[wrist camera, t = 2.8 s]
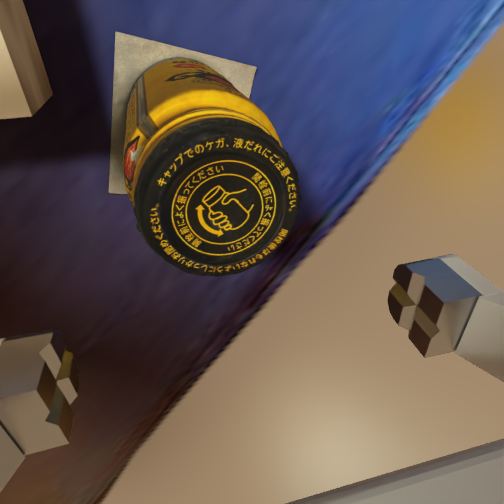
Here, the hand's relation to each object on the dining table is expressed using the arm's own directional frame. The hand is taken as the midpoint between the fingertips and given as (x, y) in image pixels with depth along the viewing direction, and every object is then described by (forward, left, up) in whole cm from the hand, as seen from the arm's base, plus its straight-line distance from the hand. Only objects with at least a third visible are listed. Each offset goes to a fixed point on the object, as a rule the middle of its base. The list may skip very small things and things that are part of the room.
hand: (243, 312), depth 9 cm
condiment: (0, 0, -16) cm, 16 cm away
